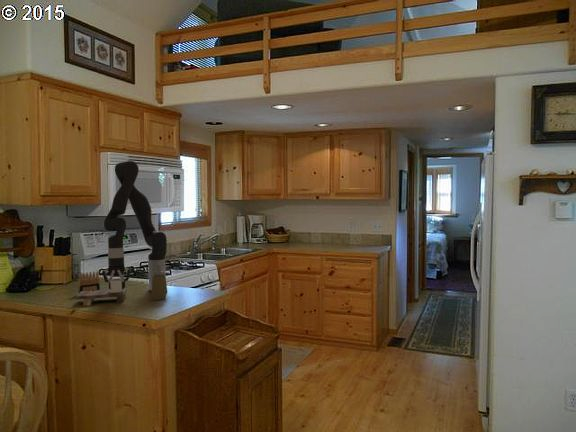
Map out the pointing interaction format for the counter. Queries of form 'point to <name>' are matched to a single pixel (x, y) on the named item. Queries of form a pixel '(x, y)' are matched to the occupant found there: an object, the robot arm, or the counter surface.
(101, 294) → the subfloor plank
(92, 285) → the ammunition clip
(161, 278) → the squeeze bottle
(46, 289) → the counter surface
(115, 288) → the stud finder
